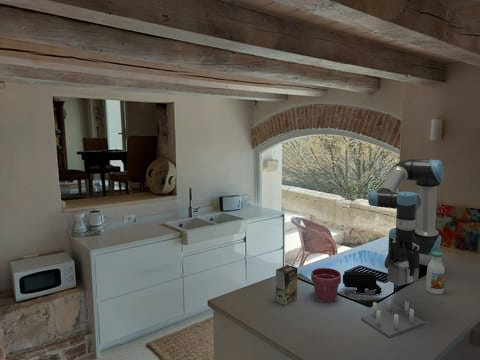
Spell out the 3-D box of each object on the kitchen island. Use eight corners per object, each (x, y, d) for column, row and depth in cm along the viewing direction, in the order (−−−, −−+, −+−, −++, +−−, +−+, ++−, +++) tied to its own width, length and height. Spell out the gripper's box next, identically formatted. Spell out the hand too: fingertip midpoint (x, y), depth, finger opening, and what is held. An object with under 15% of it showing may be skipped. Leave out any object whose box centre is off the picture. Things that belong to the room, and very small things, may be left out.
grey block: (406, 275, 157) (407, 260, 156) (418, 280, 151) (419, 264, 150) (387, 280, 152) (388, 265, 151) (398, 286, 146) (399, 269, 145)
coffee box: (286, 305, 162) (285, 273, 160) (275, 301, 167) (275, 269, 165) (297, 299, 169) (297, 267, 167) (287, 294, 173) (287, 264, 171)
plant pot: (316, 288, 179) (316, 265, 177) (343, 294, 172) (344, 270, 170) (307, 300, 167) (307, 275, 165) (336, 307, 160) (336, 281, 158)
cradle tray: (395, 307, 158) (395, 293, 157) (425, 324, 145) (426, 308, 144) (360, 319, 149) (361, 304, 148) (388, 337, 136) (389, 321, 135)
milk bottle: (423, 291, 173) (426, 253, 170) (428, 286, 179) (430, 249, 176) (441, 296, 168) (443, 256, 165) (445, 290, 173) (447, 252, 171)
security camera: (382, 297, 169) (383, 277, 167) (343, 294, 172) (343, 275, 171) (379, 290, 175) (380, 271, 174) (342, 288, 179) (342, 269, 178)
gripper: (381, 224, 155) (379, 273, 158) (419, 235, 138) (416, 289, 141) (393, 222, 158) (391, 270, 162) (431, 232, 141) (428, 286, 145)
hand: (402, 279), depth 151 cm, fingers closed on grey block, 6 cm apart
